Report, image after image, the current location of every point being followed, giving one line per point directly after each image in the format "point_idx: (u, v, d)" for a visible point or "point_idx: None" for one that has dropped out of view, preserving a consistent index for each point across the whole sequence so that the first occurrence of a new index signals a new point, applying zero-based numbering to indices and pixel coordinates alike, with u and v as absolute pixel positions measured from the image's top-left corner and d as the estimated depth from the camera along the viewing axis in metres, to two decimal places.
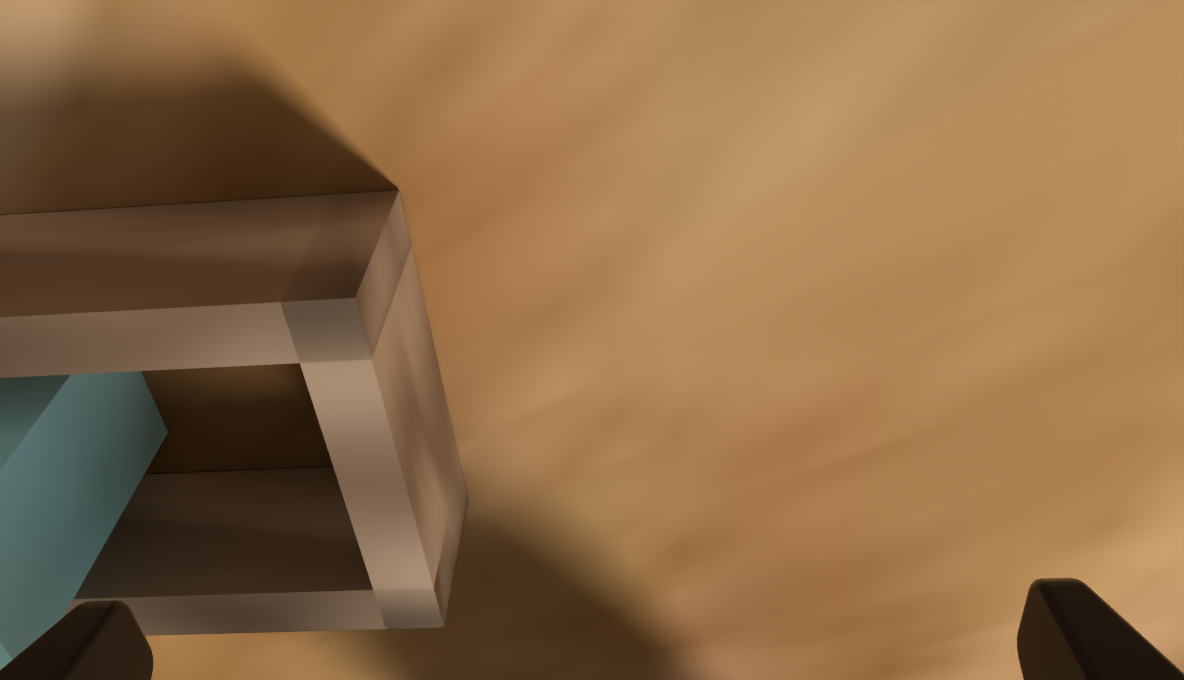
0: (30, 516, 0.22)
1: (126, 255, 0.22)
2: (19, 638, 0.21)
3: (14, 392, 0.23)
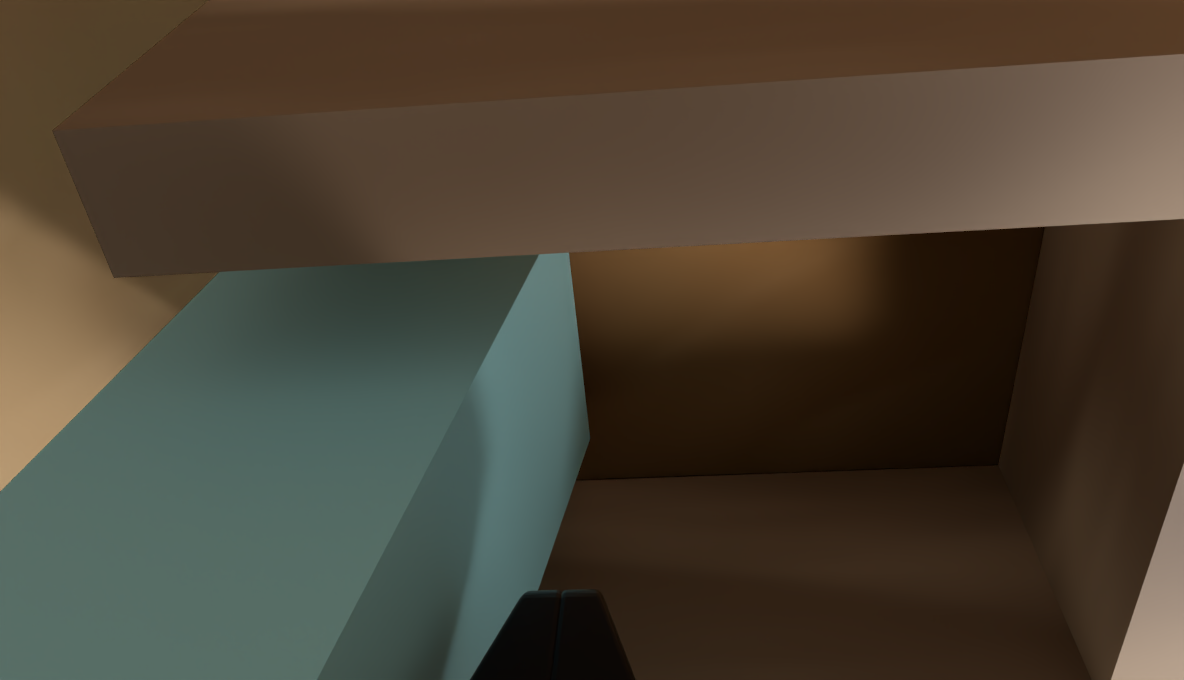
0: (434, 619, 0.10)
1: (771, 0, 0.10)
2: None
3: (400, 336, 0.11)
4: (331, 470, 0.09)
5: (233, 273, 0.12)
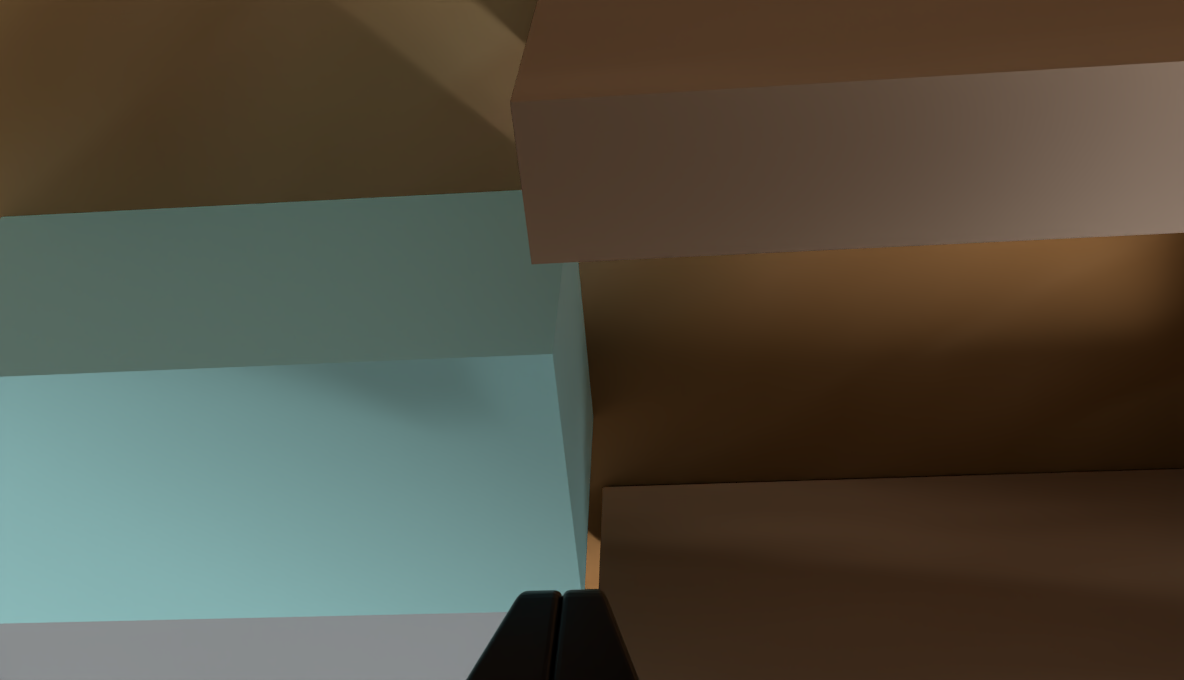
0: (77, 475, 0.12)
1: None
2: None
3: (289, 309, 0.11)
4: (98, 326, 0.11)
5: None
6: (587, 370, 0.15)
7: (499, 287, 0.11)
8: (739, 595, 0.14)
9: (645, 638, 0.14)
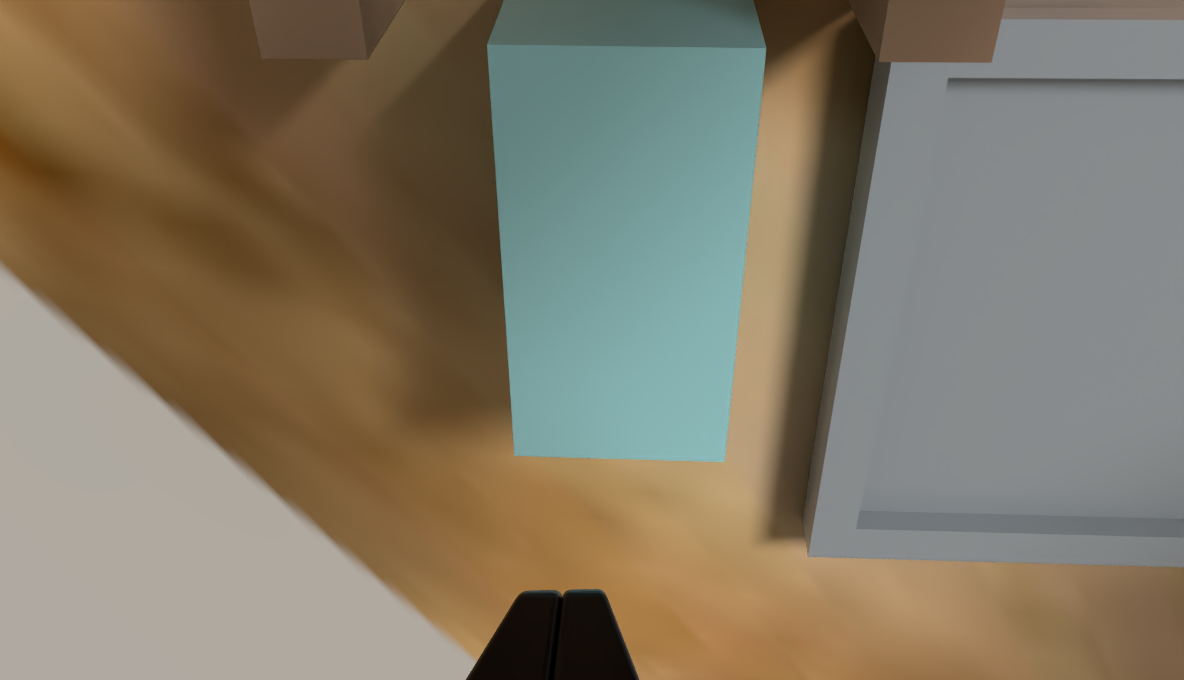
0: (589, 360, 0.18)
1: None
2: (680, 444, 0.19)
3: None
4: None
5: None
6: None
7: None
8: None
9: None
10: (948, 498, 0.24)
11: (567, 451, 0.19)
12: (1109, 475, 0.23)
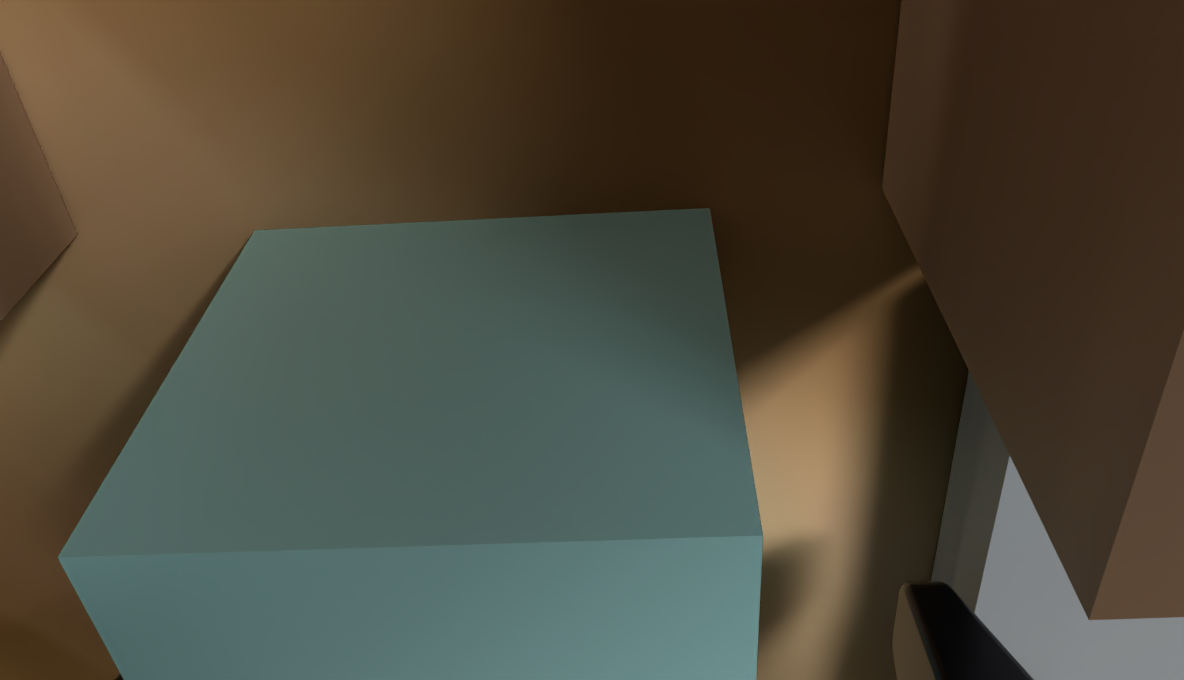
0: None
1: None
2: None
3: None
4: None
5: None
6: (584, 226, 0.08)
7: None
8: (1012, 42, 0.05)
9: (1013, 328, 0.06)
10: None
11: None
12: None
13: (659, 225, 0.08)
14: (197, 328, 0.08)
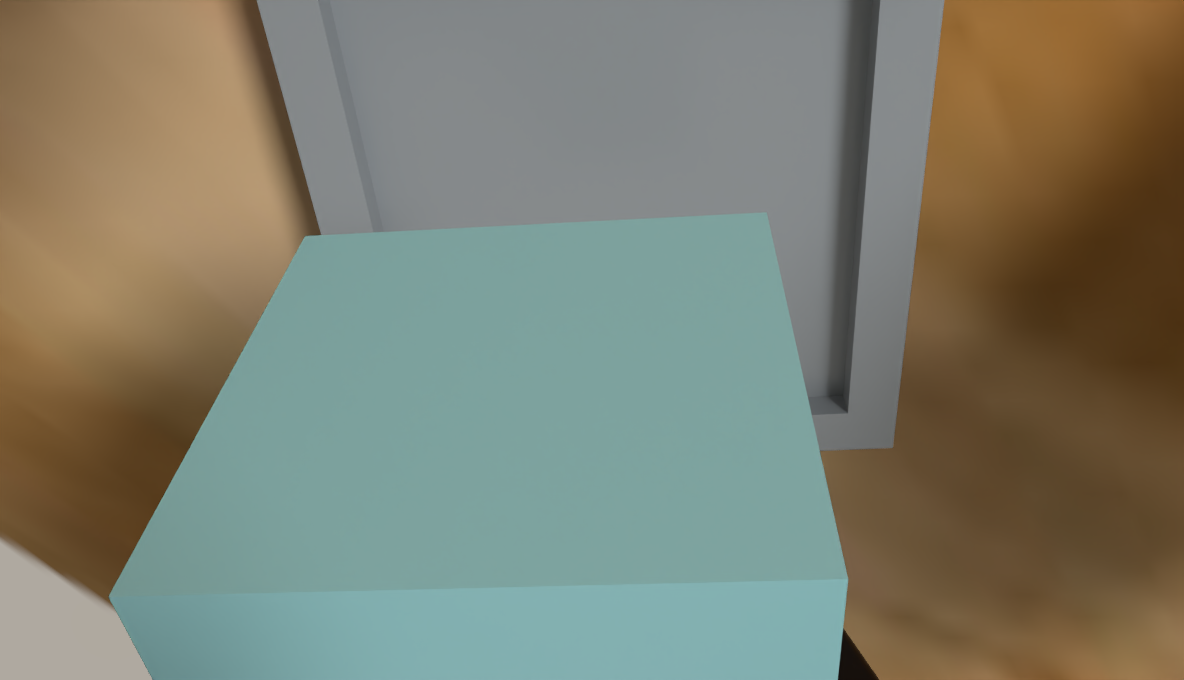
0: None
1: None
2: None
3: None
4: None
5: None
6: (639, 242, 0.08)
7: None
8: None
9: None
10: None
11: None
12: None
13: (717, 241, 0.08)
14: (244, 350, 0.07)
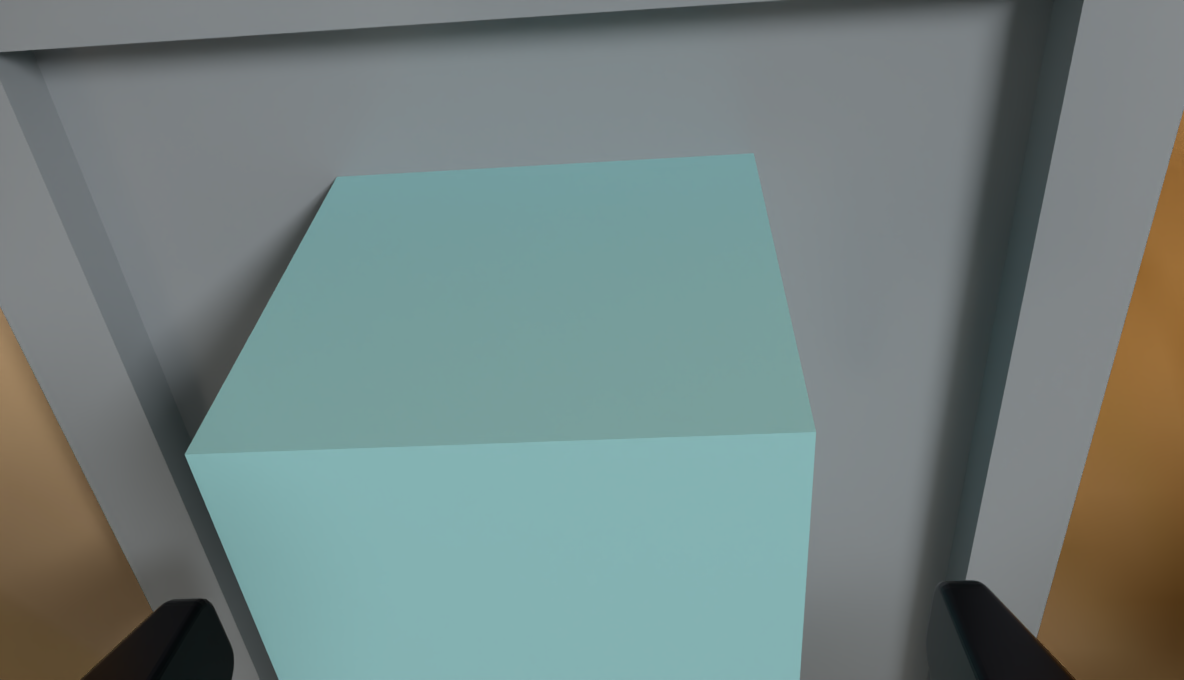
0: None
1: None
2: None
3: None
4: None
5: None
6: (638, 179, 0.09)
7: None
8: None
9: None
10: None
11: None
12: None
13: (709, 177, 0.09)
14: (288, 268, 0.08)
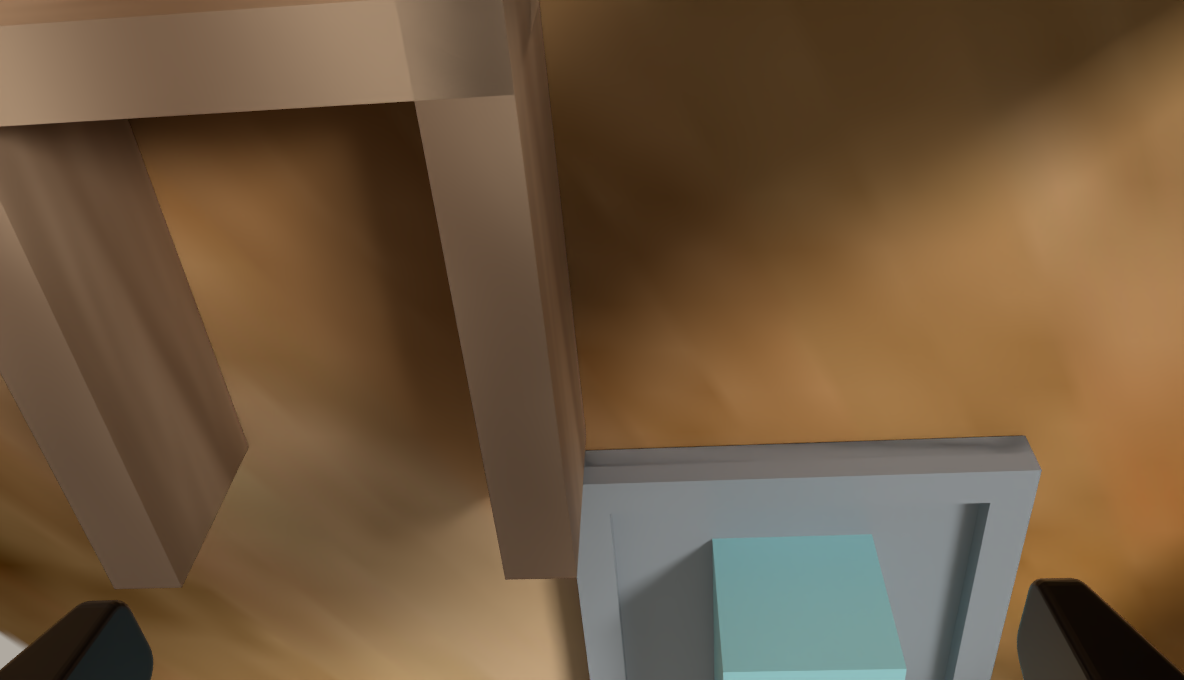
0: None
1: None
2: None
3: None
4: None
5: (713, 597, 0.26)
6: (831, 547, 0.25)
7: (719, 642, 0.24)
8: None
9: None
10: None
11: None
12: None
13: (857, 548, 0.25)
14: (716, 590, 0.24)
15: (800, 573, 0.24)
